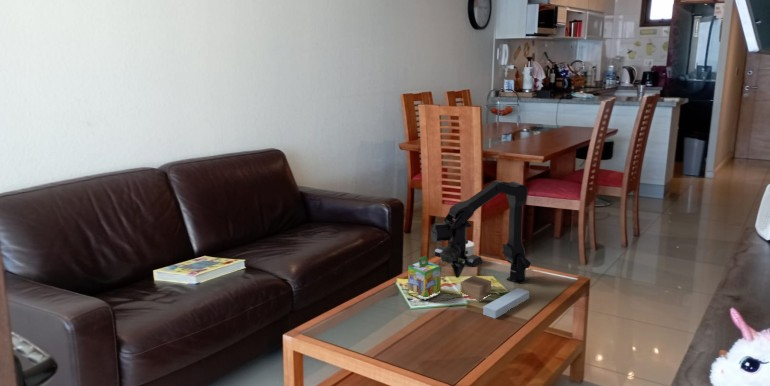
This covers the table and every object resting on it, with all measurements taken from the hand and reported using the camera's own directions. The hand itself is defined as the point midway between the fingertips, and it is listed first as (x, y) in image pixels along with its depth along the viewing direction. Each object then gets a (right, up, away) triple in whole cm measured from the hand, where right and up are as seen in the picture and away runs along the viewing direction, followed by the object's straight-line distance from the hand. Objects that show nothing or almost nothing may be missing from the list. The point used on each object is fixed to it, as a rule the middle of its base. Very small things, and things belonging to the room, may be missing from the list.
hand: (457, 277), depth 240 cm
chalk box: (-13, -6, -3) cm, 15 cm away
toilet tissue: (+4, +2, +29) cm, 30 cm away
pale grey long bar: (+16, -9, -14) cm, 23 cm away
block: (+6, -7, -5) cm, 10 cm away
